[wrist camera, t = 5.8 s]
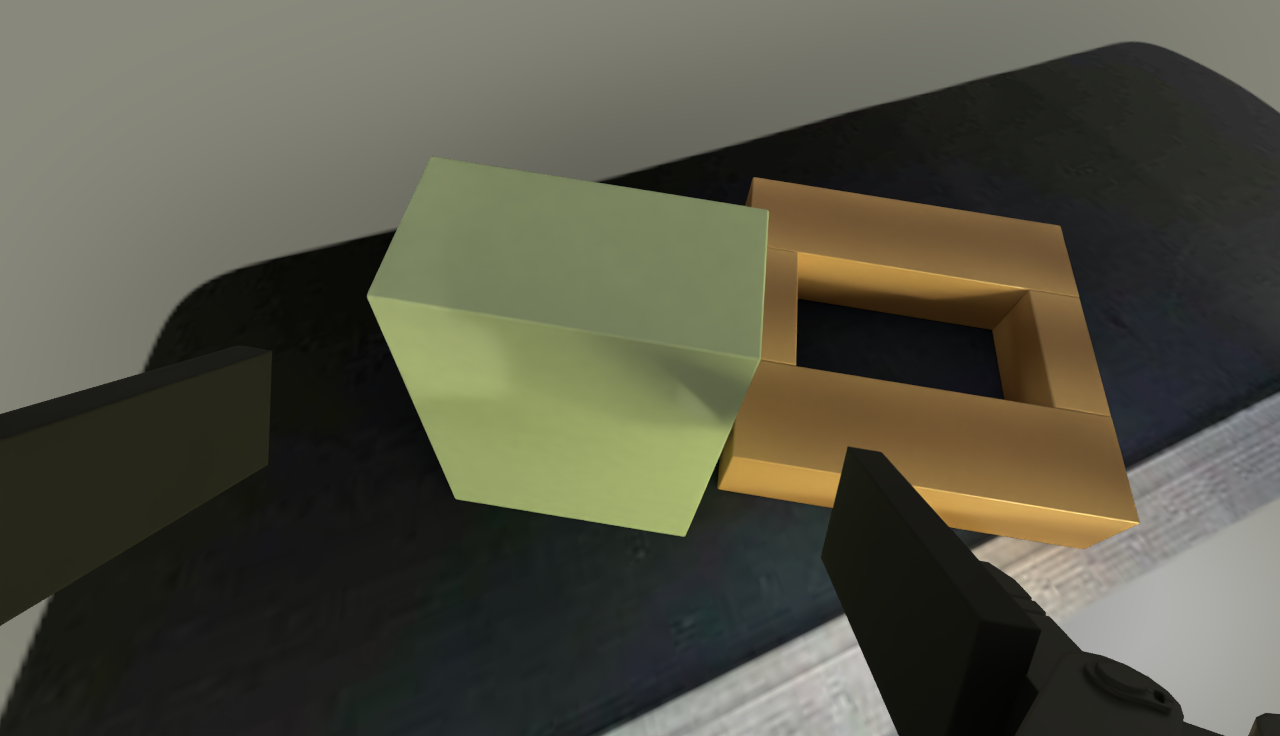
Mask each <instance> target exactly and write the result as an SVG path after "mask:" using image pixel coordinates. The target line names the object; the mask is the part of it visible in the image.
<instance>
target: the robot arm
mask: <svg viewBox="0 0 1280 736" xmlns="http://www.w3.org/2000/svg"><path fill="white" fill-rule="evenodd" d="M271 363H272V351H270V350H264V349H258V348H252V347H246V346H240V345H238V346H235V347H231V348H228V349H224V350H221V351H217V352H214V353H211V354H207V355H204V356H200V357H197V358H193V359H190V360H186V361H183V362H179V363H176V364H172V365H169V366H165V367H162V368H158V369H155V370H152V371H148V372H145V373H141V374H138V375H134V376H131V377H127V378H124V379H121V380H117V381H113V382H110V383H107V384H103V385H100V386H96V387H93V388H89V389H86V390H82V391H79V392H75V393H72V394H68V395H65V396H62V397H58V398H54V399H51V400H48V401H44V402H41V403H37V404H34V405H30V406H27V407H23V408H20V409H17V410H13V411H9V412H6V413H2V414H0V626H1V625H2V624H4V623H6V622H7V621H9V620H11V619H12V618H14V617H16V616H17V615H19V614H21V613H22V612H24V611H26V610H27V609H29V608H31V607H32V606H34V605H35V604H37V603H39V602H41V601H42V600H44V599H46V598H47V597H49V596H51V595H52V594H54V593H56V592H57V591H59V590H61V589H62V588H64V587H65V586H67V585H69V584H70V583H72V582H74V581H75V580H77V579H79V578H80V577H82V576H84V575H85V574H87V573H89V572H90V571H92V570H94V569H95V568H97V567H99V566H100V565H102V564H104V563H105V562H107V561H109V560H110V559H112V558H114V557H115V556H117V555H119V554H120V553H122V552H124V551H125V550H127V549H129V548H130V547H132V546H134V545H135V544H137V543H138V542H140V541H142V540H143V539H145V538H147V537H148V536H150V535H152V534H153V533H155V532H157V531H158V530H160V529H162V528H163V527H165V526H167V525H168V524H170V523H172V522H173V521H175V520H177V519H178V518H180V517H182V516H183V515H185V514H187V513H188V512H190V511H192V510H193V509H195V508H197V507H198V506H200V505H202V504H203V503H205V502H207V501H208V500H210V499H211V498H213V497H215V496H216V495H218V494H220V493H221V492H223V491H225V490H226V489H228V488H230V487H231V486H233V485H235V484H236V483H238V482H240V481H241V480H243V479H245V478H246V477H248V476H250V475H251V474H253V473H255V472H256V471H258V470H260V469H261V468H263V467H265V466H266V465H268V450H269V421H270V392H271ZM821 559H822V561H823V563H824V565H825V568H826V570H827V572H828V575H829V577H830V579H831V581H832V584H833V586H834V588H835V591H836V593H837V595H838V598H839V600H840V602H841V604H842V607H843V609H844V611H845V614H846V616H847V618H848V620H849V623H850V625H851V627H852V630H853V632H854V634H855V636H856V639H857V641H858V643H859V646H860V648H861V650H862V652H863V655H864V657H865V659H866V662H867V664H868V666H869V668H870V671H871V673H872V675H873V678H874V680H875V682H876V685H877V687H878V689H879V691H880V694H881V696H882V698H883V701H884V703H885V705H886V707H887V710H888V712H889V714H890V717H891V719H892V721H893V723H894V726H895V728H896V730H897V733H898V735H899V736H1224V735H1221V734H1218V733H1215V732H1212V731H1209V730H1206V729H1203V728H1200V727H1197V726H1194V725H1192V724H1189V723H1186V722H1184V721H1183V719H1184V715H1183V712H1182V709H1181V706H1180V704H1179V703H1178V702H1177V701H1176V700H1175V699H1174V697H1172V695H1171V694H1170V693H1169V692H1168V691H1167V690H1166V689H1164V688H1163V687H1161V686H1160V685H1159V684H1157V683H1156V682H1154V681H1153V680H1152V679H1151V678H1149V677H1148V676H1145V675H1144V674H1142V673H1140V672H1138V671H1136V670H1135V669H1133V668H1131V667H1129V666H1127V665H1125V664H1123V663H1120V662H1117V661H1115V660H1112V659H1110V658H1107V657H1105V656H1101V655H1097V654H1093V653H1088V652H1083V651H1082V650H1081V649H1080V648H1079V647H1078V646H1077V645H1076V644H1075V643H1074V642H1073V641H1072V640H1071V639H1070V638H1069V637H1068V636H1067V634H1066V633H1065V632H1064V631H1063V630H1062V629H1061V628H1060V627H1059V626H1058V625H1057V624H1056V623H1055V622H1054V621H1053V620H1052V619H1051V618H1050V617H1049V616H1046V612H1045V611H1044V610H1043V609H1042V608H1041V607H1040V606H1039V605H1038V604H1037V603H1036V602H1035V601H1032V600H1031V596H1030V595H1029V594H1028V593H1027V592H1026V591H1025V590H1024V589H1023V588H1022V587H1021V586H1020V585H1019V584H1018V583H1017V582H1016V581H1015V580H1014V579H1013V578H1011V577H1010V576H1008V575H1007V574H1005V573H1004V572H1002V571H1001V570H999V569H998V568H996V567H995V566H993V565H992V564H990V563H989V562H983V561H979V560H978V559H977V558H976V557H975V555H974V554H973V553H972V552H971V551H970V550H969V549H968V548H967V546H966V545H965V544H964V543H963V542H962V541H961V540H960V539H959V538H958V536H957V535H956V534H955V533H954V532H953V531H952V530H951V529H950V528H949V526H948V525H947V524H946V523H945V522H944V521H943V520H942V519H941V518H940V516H939V515H938V514H937V513H936V512H935V511H934V510H933V509H932V507H931V506H930V505H929V504H928V503H927V502H926V501H925V500H924V499H923V497H922V496H921V495H920V494H919V493H918V492H917V491H916V490H915V489H914V487H913V486H912V485H911V484H910V483H909V482H908V481H907V480H906V478H905V477H904V476H903V475H902V474H901V473H900V472H899V471H898V470H897V468H896V467H895V466H894V465H893V464H892V463H891V462H890V461H889V460H888V458H887V457H886V456H885V455H884V454H883V453H882V452H879V451H873V450H867V449H861V448H855V447H849V446H848V447H847V451H846V455H845V459H844V463H843V468H842V472H841V476H840V480H839V484H838V488H837V493H836V497H835V501H834V505H833V509H832V513H831V518H830V522H829V526H828V530H827V534H826V538H825V543H824V547H823V551H822V555H821ZM1248 736H1280V714H1271V713H1265V714H1263V715H1260V716H1258V717H1256V719H1255V721H1254V724H1253V726H1252V729H1251V731H1250V733H1249V735H1248Z"/></svg>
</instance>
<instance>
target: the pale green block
mask: <svg viewBox="0 0 1280 736" xmlns="http://www.w3.org/2000/svg"><path fill="white" fill-rule="evenodd" d="M768 220H769V211H768V210H766V209H759V208H753V207H747V206H741V205H734V204H728V203H722V202H716V201H709V200H703V199H697V198H690V197H684V196H678V195H672V194H665V193H659V192H653V191H647V190H640V189H634V188H628V187H622V186H615V185H609V184H603V183H596V182H590V181H584V180H577V179H571V178H565V177H559V176H553V175H545V174H539V173H534V172H526V171H521V170H514V169H509V168H502V167H496V166H489V165H484V164H477V163H471V162H464V161H458V160H452V159H445V158H440V157H431V158H430V159H429V162H428V164H427V166H426V168H425V170H424V172H423V175H422V177H421V179H420V181H419V183H418V185H417V188H416V190H415V192H414V194H413V197H412V198H411V201H410V203H409V205H408V207H407V210H406V212H405V214H404V216H403V218H402V220H401V222H400V224H399V227H398V229H397V231H396V233H395V235H394V237H393V240H392V242H391V244H390V246H389V248H388V250H387V253H386V255H385V257H384V259H383V261H382V263H381V266H380V268H379V270H378V272H377V274H376V276H375V279H374V281H373V283H372V285H371V287H370V289H369V292H368V294H367V298H368V301H369V303H370V305H371V308H372V310H373V312H374V314H375V317H376V319H377V321H378V324H379V326H380V328H381V330H382V333H383V335H384V337H385V340H386V342H387V344H388V346H389V349H390V351H391V353H392V355H393V358H394V360H395V362H396V365H397V367H398V369H399V371H400V374H401V376H402V378H403V381H404V383H405V385H406V387H407V390H408V392H409V394H410V397H411V399H412V401H413V403H414V406H415V408H416V410H417V412H418V415H419V417H420V419H421V422H422V424H423V426H424V428H425V431H426V433H427V435H428V438H429V440H430V442H431V444H432V447H433V449H434V451H435V453H436V456H437V458H438V460H439V463H440V465H441V467H442V469H443V472H444V474H445V476H446V479H447V481H448V483H449V485H450V488H451V490H452V492H453V495H454V497H455V499H459V500H465V501H471V502H477V503H483V504H489V505H495V506H501V507H507V508H513V509H519V510H525V511H531V512H537V513H543V514H550V515H556V516H562V517H568V518H574V519H580V520H586V521H592V522H598V523H604V524H610V525H616V526H622V527H628V528H634V529H640V530H647V531H653V532H659V533H665V534H671V535H677V536H683V537H684V536H686V533H687V531H688V529H689V526H690V524H691V522H692V519H693V517H694V515H695V512H696V510H697V508H698V505H699V503H700V501H701V498H702V496H703V494H704V491H705V489H706V487H707V484H708V482H709V480H710V477H711V475H712V473H713V470H714V468H715V465H716V463H717V461H718V458H719V456H720V454H721V451H722V449H723V447H724V444H725V442H726V440H727V437H728V435H729V433H730V430H731V428H732V426H733V423H734V421H735V419H736V416H737V414H738V412H739V409H740V407H741V405H742V402H743V400H744V398H745V395H746V393H747V391H748V388H749V386H750V384H751V381H752V379H753V377H754V374H755V372H756V370H757V367H758V365H759V363H760V360H761V348H762V330H763V312H764V293H765V275H766V256H767V238H768Z"/></svg>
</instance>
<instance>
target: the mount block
mask: <svg viewBox="0 0 1280 736" xmlns="http://www.w3.org/2000/svg"><path fill="white" fill-rule="evenodd" d="M745 206H747V207H753V208H759V209H766V210H768V211H769V220H768V238H767V256H766V275H765V293H764V312H763V330H762V348H761V360H760V363H759V365H758V367H757V370H756V372H755V374H754V377H753V379H752V381H751V384H750V386H749V388H748V391H747V393H746V395H745V398H744V400H743V402H742V405H741V407H740V409H739V412H738V414H737V416H736V419H735V421H734V423H733V426H732V428H731V430H730V433H729V435H728V437H727V440H726V442H725V444H724V447H723V449H722V451H721V454H720V462H719V474H718V486H717V488H718V489H720V490H726V491H732V492H738V493H745V494H751V495H757V496H763V497H769V498H775V499H781V500H787V501H793V502H799V503H805V504H812V505H818V506H824V507H830V508H833V505H834V501H835V497H836V493H837V488H838V484H839V480H840V476H841V472H842V468H843V463H844V459H845V455H846V451H847V447H848V446H849V447H855V448H861V449H867V450H873V451H879V452H882V453H883V454H884V455H885V456H886V457H887V458H888V460H889V461H890V462H891V463H892V464H893V465H894V466H895V467H896V468H897V470H898V471H899V472H900V473H901V474H902V475H903V476H904V477H905V478H906V480H907V481H908V482H909V483H910V484H911V485H912V486H913V487H914V489H915V490H916V491H917V492H918V493H919V494H920V495H921V496H922V497H923V499H924V500H925V501H926V502H927V503H928V504H929V505H930V506H931V507H932V509H933V510H934V511H935V512H936V513H937V514H938V515H939V516H940V518H941V519H942V520H943V521H944V522H945V523H946V524H947V525H948V526H949V527H952V528H958V529H964V530H970V531H976V532H982V533H988V534H994V535H1000V536H1007V537H1013V538H1019V539H1025V540H1031V541H1037V542H1043V543H1049V544H1055V545H1061V546H1067V547H1074V548H1080V549H1086V548H1088V547H1090V546H1092V545H1094V544H1096V543H1098V542H1101V541H1103V540H1105V539H1107V538H1109V537H1111V536H1114V535H1116V534H1118V533H1120V532H1122V531H1124V530H1127V529H1129V528H1131V527H1133V526H1135V525H1137V524H1139V518H1138V514H1137V511H1136V507H1135V503H1134V500H1133V496H1132V492H1131V488H1130V485H1129V481H1128V477H1127V473H1126V470H1125V466H1124V462H1123V458H1122V455H1121V451H1120V447H1119V444H1118V440H1117V436H1116V432H1115V429H1114V425H1113V421H1112V418H1111V417H1110V411H1109V407H1108V403H1107V400H1106V396H1105V392H1104V388H1103V385H1102V381H1101V377H1100V374H1099V370H1098V366H1097V362H1096V359H1095V355H1094V351H1093V347H1092V344H1091V340H1090V336H1089V332H1088V329H1087V325H1086V321H1085V318H1084V314H1083V310H1082V306H1081V303H1080V299H1079V294H1078V290H1077V286H1076V283H1075V279H1074V275H1073V272H1072V268H1071V264H1070V260H1069V257H1068V253H1067V249H1066V245H1065V242H1064V238H1063V234H1062V231H1061V227H1060V226H1058V225H1051V224H1045V223H1039V222H1033V221H1026V220H1020V219H1014V218H1007V217H1001V216H995V215H989V214H982V213H976V212H970V211H963V210H957V209H951V208H945V207H938V206H932V205H926V204H919V203H913V202H907V201H901V200H894V199H888V198H882V197H875V196H869V195H863V194H856V193H850V192H844V191H838V190H831V189H825V188H819V187H812V186H806V185H800V184H794V183H787V182H781V181H775V180H768V179H762V178H756V177H754V178H753V180H752V183H751V187H750V190H749V194H748V197H747V201H746V204H745ZM797 299H803V300H809V301H816V302H822V303H828V304H834V305H841V306H847V307H853V308H859V309H865V310H872V311H878V312H884V313H890V314H897V315H903V316H909V317H915V318H921V319H928V320H934V321H940V322H946V323H953V324H959V325H965V326H971V327H977V328H984V329H990V330H993V331H992V332H993V338H994V344H995V349H996V355H997V361H998V367H999V372H1000V378H1001V384H1002V390H1003V396H1004V400H1002V399H996V398H989V397H983V396H977V395H971V394H965V393H959V392H952V391H946V390H940V389H934V388H928V387H922V386H915V385H909V384H903V383H897V382H891V381H884V380H878V379H872V378H866V377H860V376H854V375H847V374H841V373H835V372H829V371H823V370H817V369H810V368H804V367H798V366H796V346H797Z"/></svg>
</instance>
